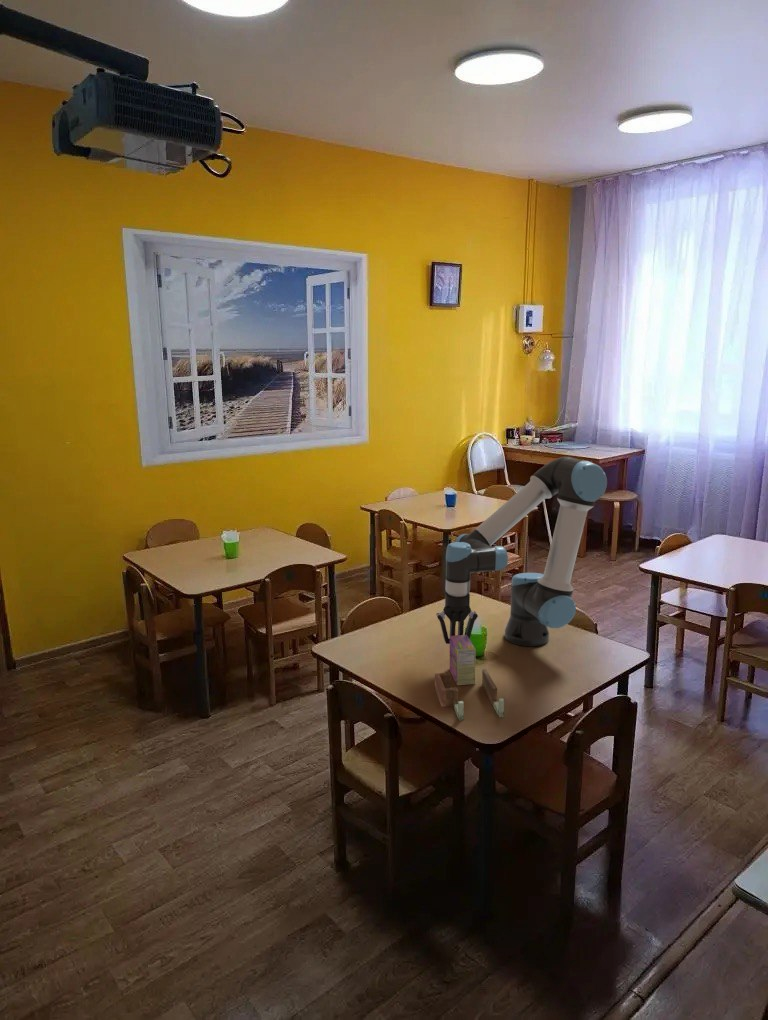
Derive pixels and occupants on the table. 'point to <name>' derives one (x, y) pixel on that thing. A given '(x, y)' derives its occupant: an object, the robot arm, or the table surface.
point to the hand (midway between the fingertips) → (455, 663)
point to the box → (462, 659)
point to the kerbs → (498, 707)
